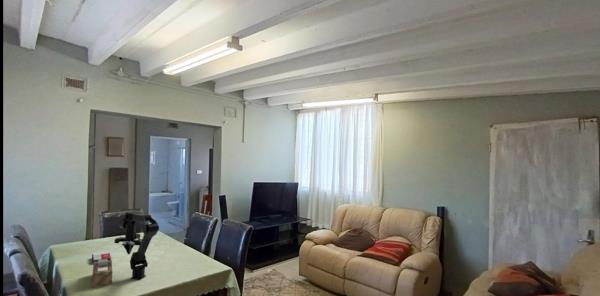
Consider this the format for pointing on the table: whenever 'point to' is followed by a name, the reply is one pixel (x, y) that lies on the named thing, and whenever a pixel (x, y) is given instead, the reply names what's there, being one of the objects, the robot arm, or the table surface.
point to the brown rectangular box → (102, 275)
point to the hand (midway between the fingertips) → (128, 254)
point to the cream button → (103, 269)
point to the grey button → (103, 262)
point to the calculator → (100, 256)
